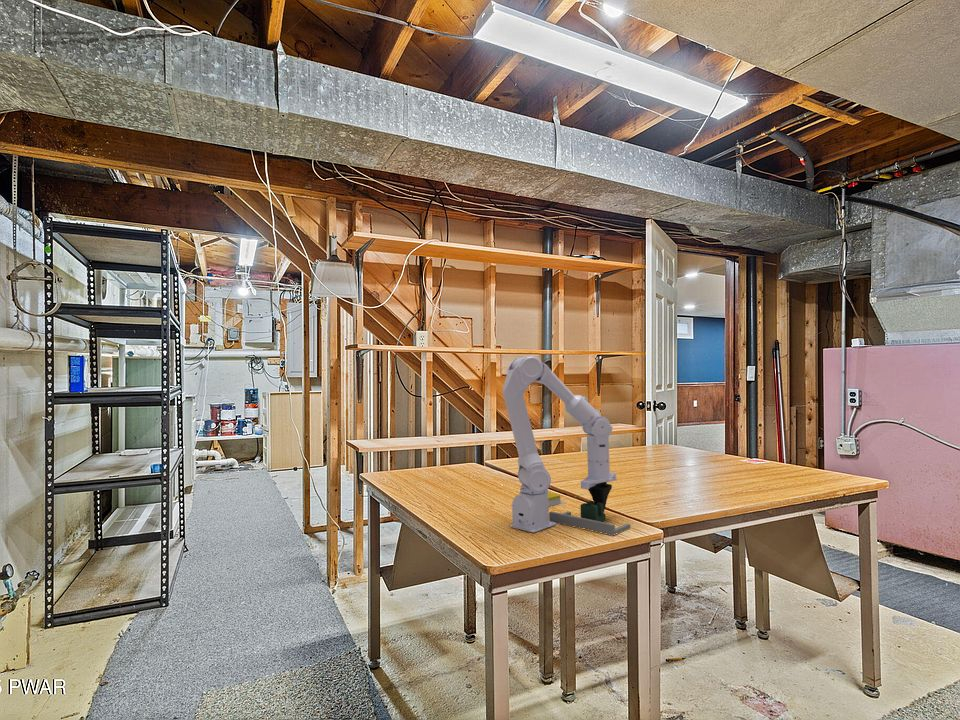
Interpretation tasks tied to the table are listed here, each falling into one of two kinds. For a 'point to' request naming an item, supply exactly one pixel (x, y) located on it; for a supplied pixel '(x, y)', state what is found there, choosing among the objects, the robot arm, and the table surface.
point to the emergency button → (553, 499)
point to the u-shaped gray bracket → (586, 523)
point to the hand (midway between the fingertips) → (600, 511)
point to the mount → (593, 511)
